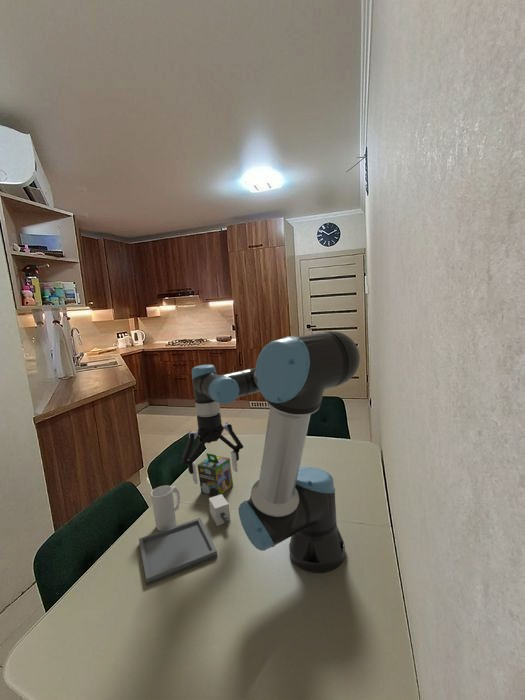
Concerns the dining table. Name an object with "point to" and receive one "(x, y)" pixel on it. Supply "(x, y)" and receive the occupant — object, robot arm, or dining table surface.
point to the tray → (175, 550)
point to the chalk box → (215, 475)
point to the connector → (219, 509)
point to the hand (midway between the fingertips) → (215, 476)
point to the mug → (165, 506)
